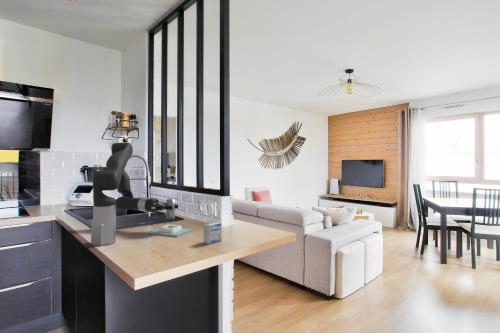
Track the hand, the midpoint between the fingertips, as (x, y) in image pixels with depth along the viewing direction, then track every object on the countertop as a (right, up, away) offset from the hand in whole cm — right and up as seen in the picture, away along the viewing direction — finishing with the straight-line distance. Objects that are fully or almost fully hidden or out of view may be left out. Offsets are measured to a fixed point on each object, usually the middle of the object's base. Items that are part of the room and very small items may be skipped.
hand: (175, 207), depth 149 cm
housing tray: (-3, -14, +1) cm, 14 cm away
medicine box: (+22, -14, -16) cm, 31 cm away
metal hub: (-3, -6, +1) cm, 7 cm away
